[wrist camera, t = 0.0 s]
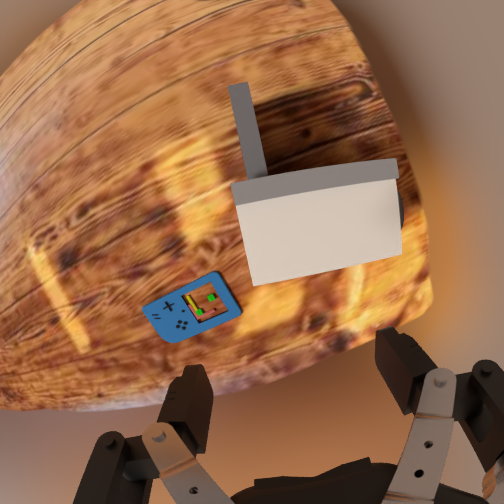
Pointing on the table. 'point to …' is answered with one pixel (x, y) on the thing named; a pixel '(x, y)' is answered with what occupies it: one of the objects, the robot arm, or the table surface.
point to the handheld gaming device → (189, 310)
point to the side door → (248, 131)
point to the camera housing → (319, 219)
